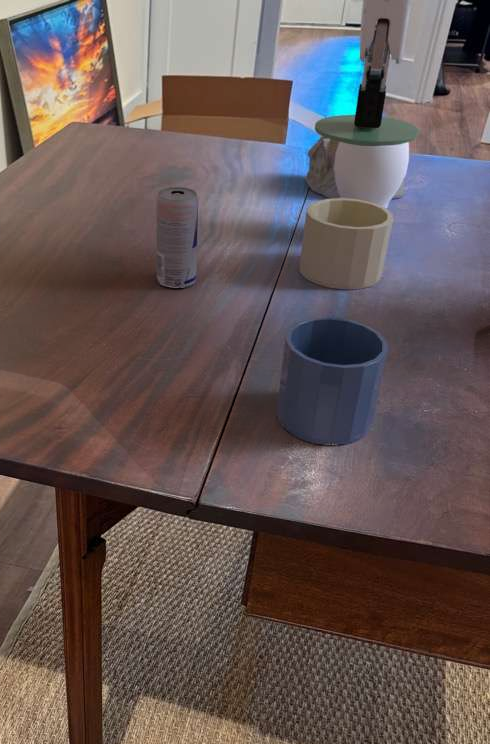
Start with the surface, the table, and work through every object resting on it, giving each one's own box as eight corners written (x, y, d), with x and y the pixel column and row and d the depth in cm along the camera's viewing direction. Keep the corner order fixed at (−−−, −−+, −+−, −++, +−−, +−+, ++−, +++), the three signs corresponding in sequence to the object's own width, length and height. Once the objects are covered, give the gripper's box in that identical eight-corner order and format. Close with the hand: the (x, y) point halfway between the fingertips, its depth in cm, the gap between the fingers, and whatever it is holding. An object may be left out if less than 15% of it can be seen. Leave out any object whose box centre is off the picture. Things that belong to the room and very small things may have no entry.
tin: (342, 249, 108) (351, 193, 103) (398, 278, 100) (411, 218, 95) (283, 265, 103) (289, 206, 97) (337, 296, 95) (347, 235, 90)
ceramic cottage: (415, 197, 126) (429, 105, 118) (332, 209, 123) (339, 114, 114) (372, 176, 139) (381, 91, 130) (295, 186, 135) (299, 98, 126)
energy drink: (196, 273, 100) (199, 187, 92) (195, 290, 95) (197, 201, 88) (158, 272, 100) (157, 185, 92) (155, 289, 96) (154, 199, 88)
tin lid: (366, 119, 96) (374, 68, 93) (439, 141, 88) (450, 87, 84) (293, 131, 91) (298, 78, 87) (363, 156, 82) (371, 99, 79)
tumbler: (327, 382, 79) (339, 308, 73) (390, 426, 72) (408, 349, 67) (258, 408, 74) (265, 332, 69) (318, 457, 68) (332, 378, 62)
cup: (330, 221, 117) (345, 124, 107) (396, 231, 114) (416, 132, 105) (317, 245, 109) (331, 142, 100) (387, 256, 106) (408, 151, 97)
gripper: (433, -54, 70) (398, 142, 82) (427, -61, 83) (397, 110, 94) (357, -56, 71) (333, 138, 83) (361, -63, 84) (340, 106, 95)
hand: (367, 121), depth 88 cm, fingers closed on tin lid, 2 cm apart
